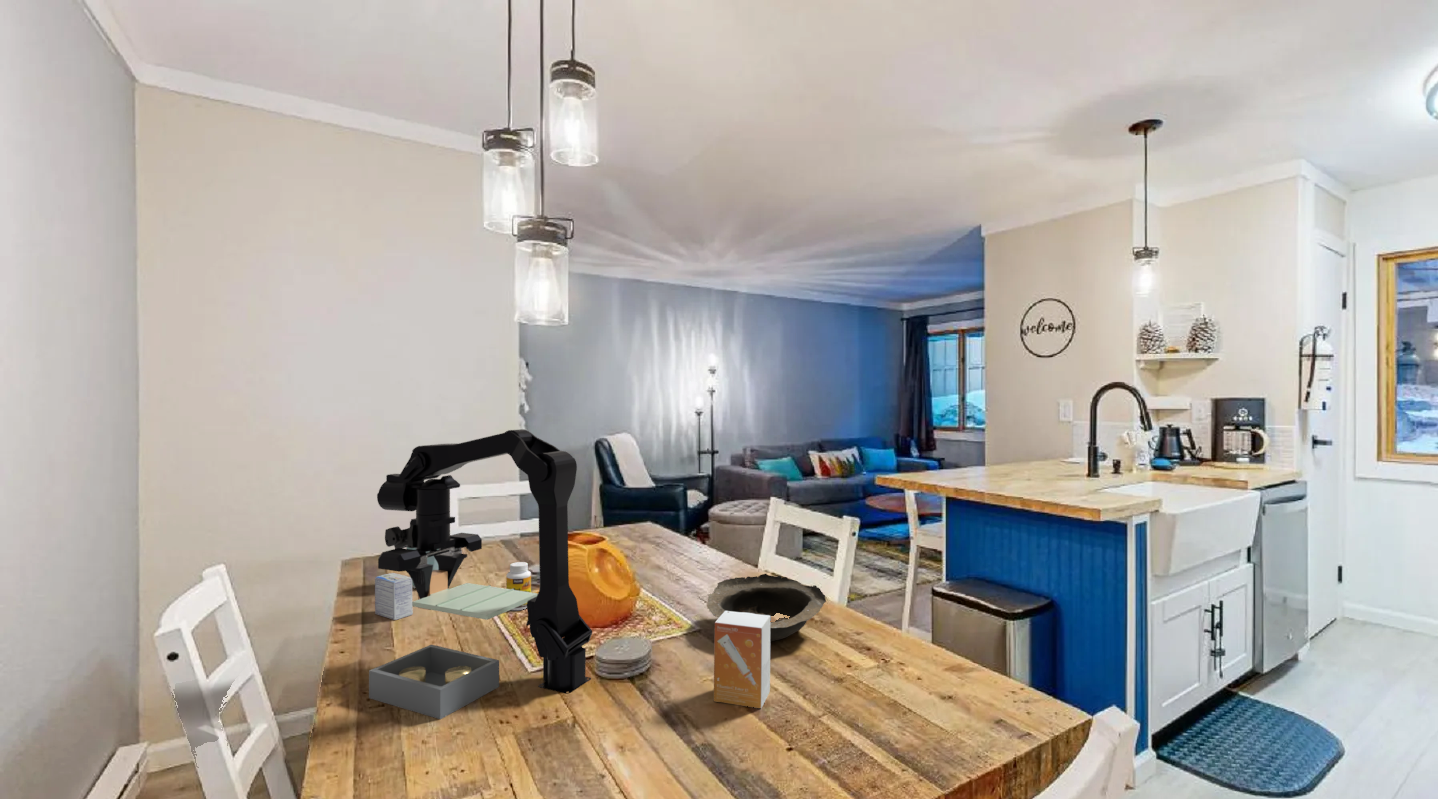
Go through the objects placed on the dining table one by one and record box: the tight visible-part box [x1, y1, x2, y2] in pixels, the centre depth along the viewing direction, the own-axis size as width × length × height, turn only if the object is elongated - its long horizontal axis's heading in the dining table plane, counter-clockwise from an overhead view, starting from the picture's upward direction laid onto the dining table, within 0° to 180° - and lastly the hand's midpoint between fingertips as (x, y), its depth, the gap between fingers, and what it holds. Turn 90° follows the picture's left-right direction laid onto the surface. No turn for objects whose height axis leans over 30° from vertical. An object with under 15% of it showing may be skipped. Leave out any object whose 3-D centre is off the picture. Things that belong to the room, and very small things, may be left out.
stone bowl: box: [706, 573, 827, 642], centre depth 133 cm, size 25×25×9 cm
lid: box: [412, 570, 538, 621], centre depth 112 cm, size 20×12×6 cm, turn 66°
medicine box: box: [374, 572, 414, 621], centre depth 143 cm, size 8×4×9 cm, turn 58°
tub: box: [368, 644, 500, 720], centre depth 104 cm, size 16×12×5 cm
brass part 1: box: [399, 666, 426, 683], centre depth 103 cm, size 4×4×4 cm
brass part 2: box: [445, 666, 471, 684], centre depth 104 cm, size 4×4×4 cm
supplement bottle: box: [505, 561, 532, 611], centre depth 148 cm, size 6×6×10 cm
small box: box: [713, 611, 771, 709], centre depth 103 cm, size 8×6×13 cm
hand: (433, 597), depth 116 cm, fingers closed on lid, 4 cm apart
